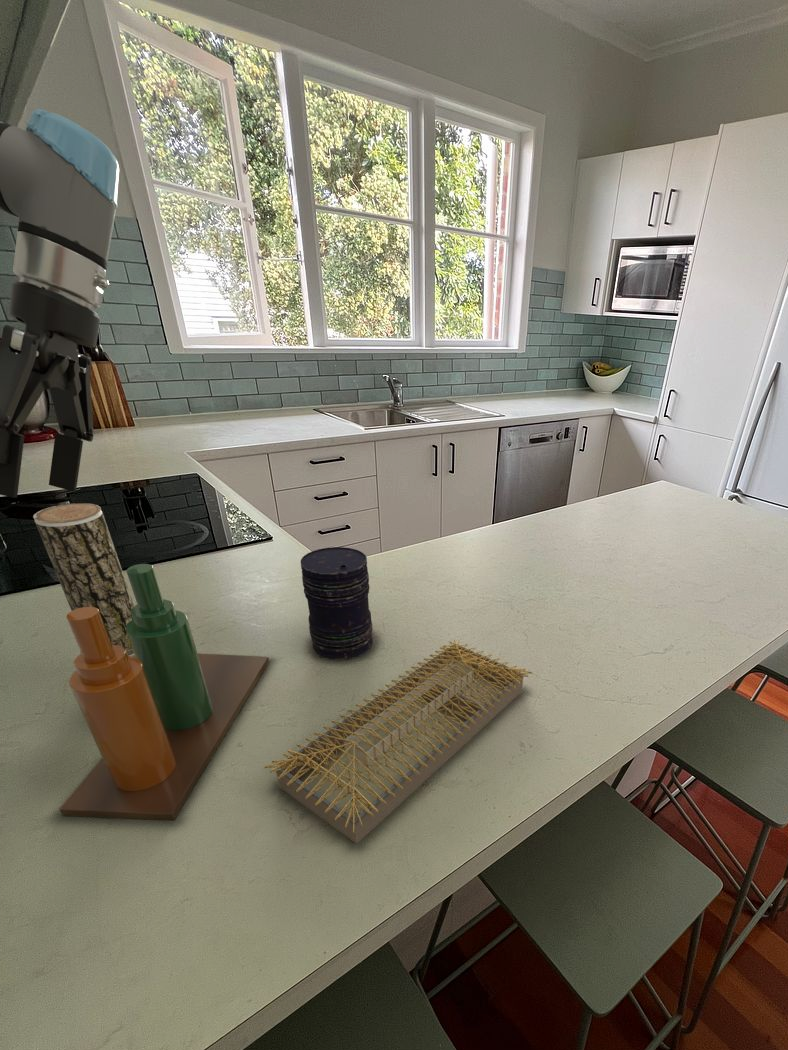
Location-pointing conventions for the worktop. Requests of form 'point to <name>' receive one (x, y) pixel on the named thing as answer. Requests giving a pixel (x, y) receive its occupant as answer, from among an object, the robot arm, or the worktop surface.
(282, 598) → the worktop surface
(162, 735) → the amber bottle
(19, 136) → the robot arm
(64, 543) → the bark cylinder
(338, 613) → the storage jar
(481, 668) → the rafter model
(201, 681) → the green bottle
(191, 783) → the walnut board
